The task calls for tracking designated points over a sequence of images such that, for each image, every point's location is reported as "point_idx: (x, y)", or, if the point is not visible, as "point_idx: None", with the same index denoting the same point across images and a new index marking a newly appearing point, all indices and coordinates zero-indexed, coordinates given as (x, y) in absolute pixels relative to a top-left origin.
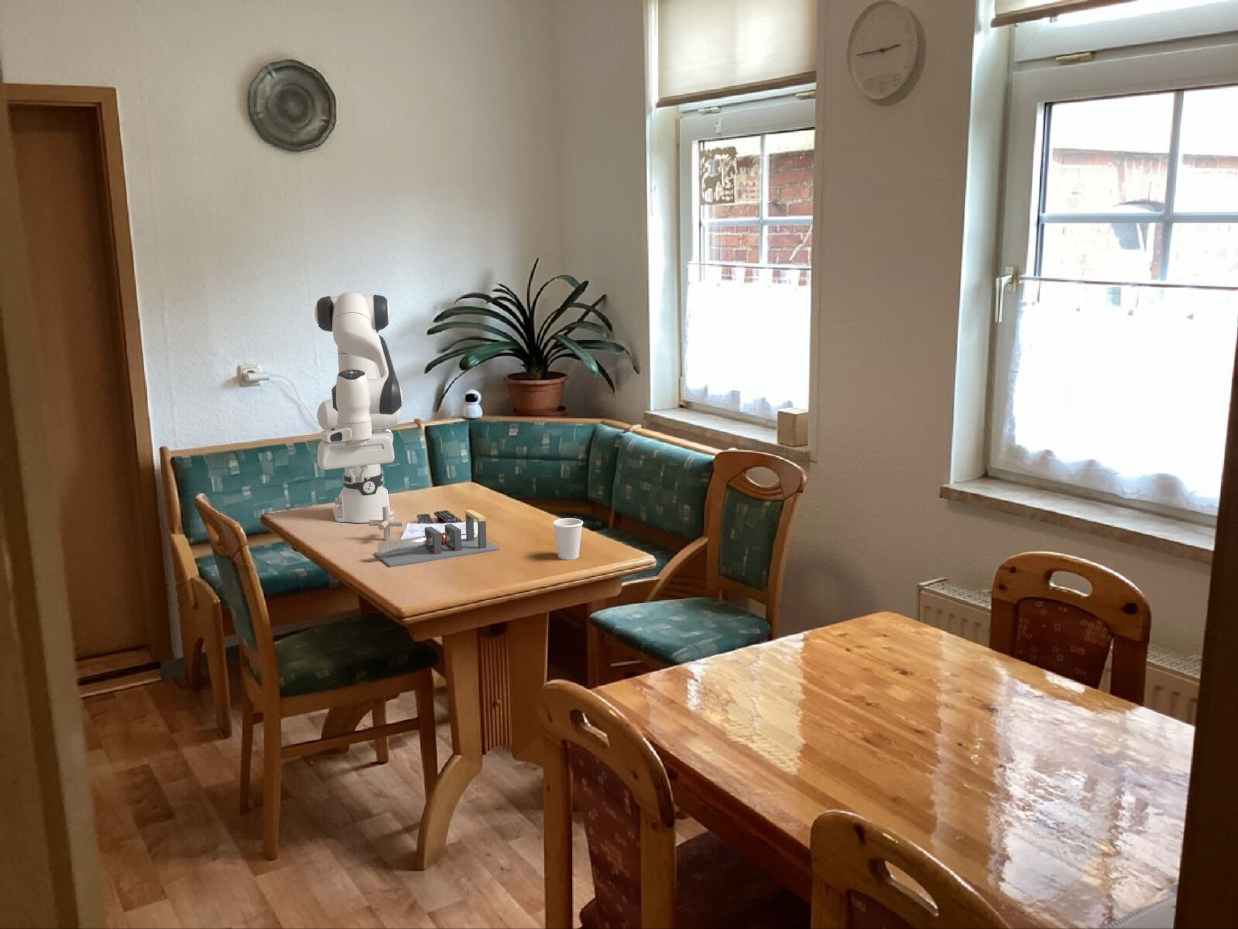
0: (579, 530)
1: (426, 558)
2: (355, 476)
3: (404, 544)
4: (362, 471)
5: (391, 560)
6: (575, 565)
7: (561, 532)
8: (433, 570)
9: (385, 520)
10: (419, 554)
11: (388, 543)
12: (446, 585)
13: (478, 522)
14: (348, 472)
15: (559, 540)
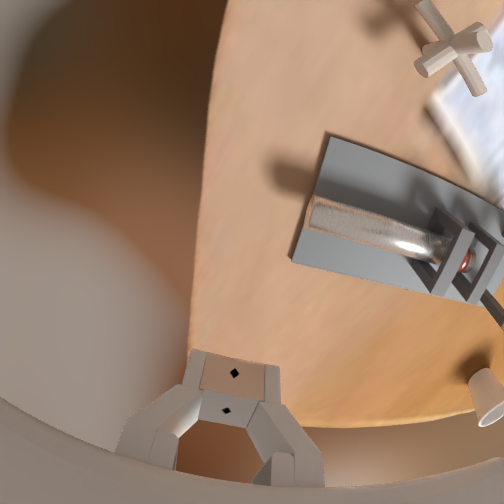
0: (488, 416)
1: (378, 277)
2: (201, 415)
3: (369, 245)
4: (266, 450)
5: (317, 234)
6: (450, 402)
7: (477, 414)
8: (337, 330)
9: (454, 50)
10: None
11: (332, 232)
12: (293, 390)
13: (501, 322)
14: (149, 404)
15: (476, 401)
